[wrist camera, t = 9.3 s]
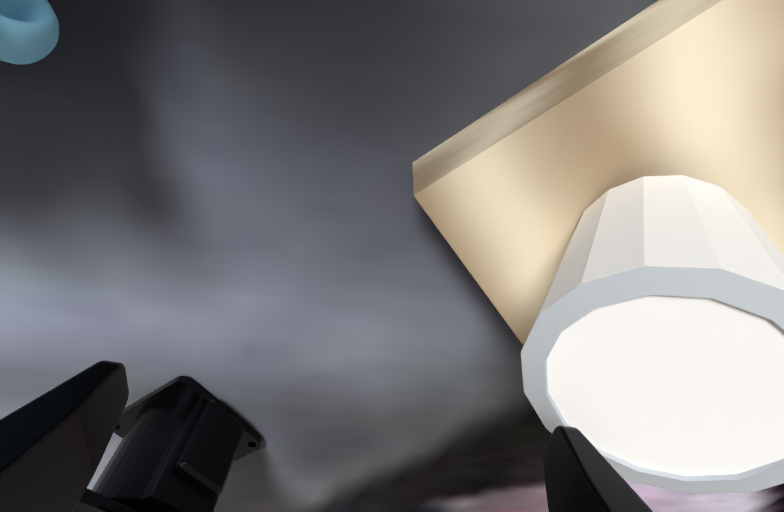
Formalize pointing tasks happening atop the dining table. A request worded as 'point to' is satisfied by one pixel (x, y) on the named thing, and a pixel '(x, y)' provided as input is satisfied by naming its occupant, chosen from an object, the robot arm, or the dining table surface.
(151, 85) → the dining table surface
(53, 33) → the decorative pot
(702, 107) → the ash block
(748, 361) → the shot glass
